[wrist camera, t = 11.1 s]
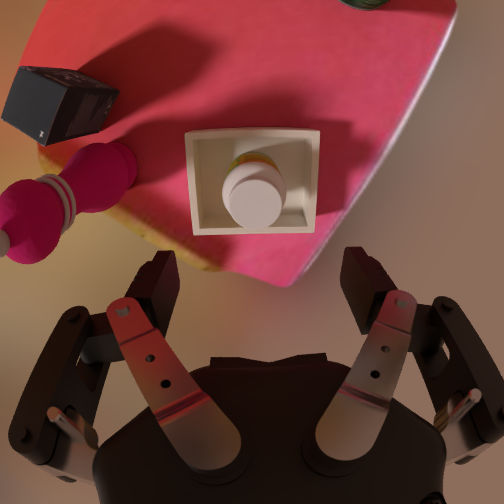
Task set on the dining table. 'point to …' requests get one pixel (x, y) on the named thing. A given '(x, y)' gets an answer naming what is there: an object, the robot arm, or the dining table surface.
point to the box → (57, 104)
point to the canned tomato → (364, 4)
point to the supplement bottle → (254, 190)
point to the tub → (247, 140)
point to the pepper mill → (62, 199)
